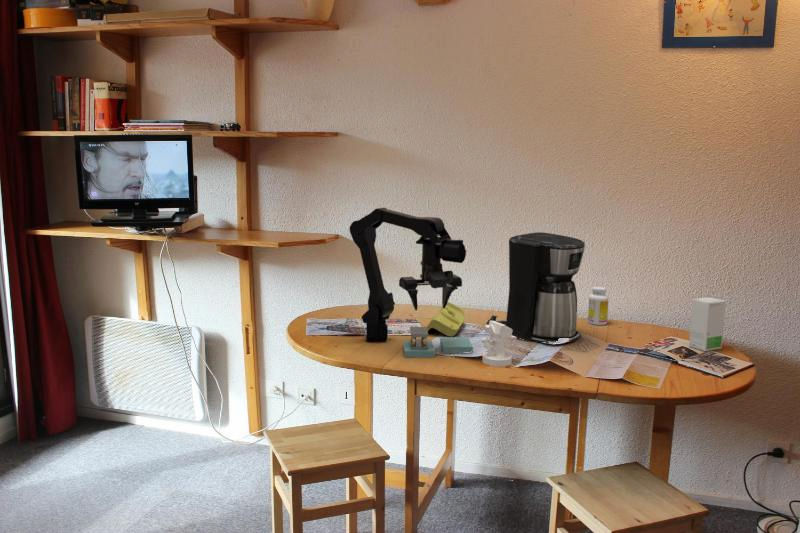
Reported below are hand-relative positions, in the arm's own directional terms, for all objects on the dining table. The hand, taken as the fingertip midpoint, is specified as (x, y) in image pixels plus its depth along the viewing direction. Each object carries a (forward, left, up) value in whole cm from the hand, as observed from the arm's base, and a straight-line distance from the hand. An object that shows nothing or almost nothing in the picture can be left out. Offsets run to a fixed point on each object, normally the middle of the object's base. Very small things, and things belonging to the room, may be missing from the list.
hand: (429, 309), depth 208 cm
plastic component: (+8, +23, -13) cm, 27 cm away
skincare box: (+87, +1, -13) cm, 88 cm away
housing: (-4, -3, -11) cm, 12 cm away
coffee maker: (+38, +19, -13) cm, 45 cm away
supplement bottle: (+62, +30, -13) cm, 70 cm away
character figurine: (+19, -12, -13) cm, 26 cm away
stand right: (+8, +1, -13) cm, 15 cm away
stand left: (-4, -3, -13) cm, 14 cm away
